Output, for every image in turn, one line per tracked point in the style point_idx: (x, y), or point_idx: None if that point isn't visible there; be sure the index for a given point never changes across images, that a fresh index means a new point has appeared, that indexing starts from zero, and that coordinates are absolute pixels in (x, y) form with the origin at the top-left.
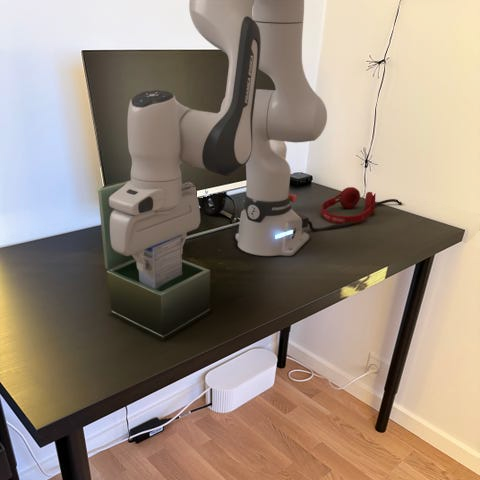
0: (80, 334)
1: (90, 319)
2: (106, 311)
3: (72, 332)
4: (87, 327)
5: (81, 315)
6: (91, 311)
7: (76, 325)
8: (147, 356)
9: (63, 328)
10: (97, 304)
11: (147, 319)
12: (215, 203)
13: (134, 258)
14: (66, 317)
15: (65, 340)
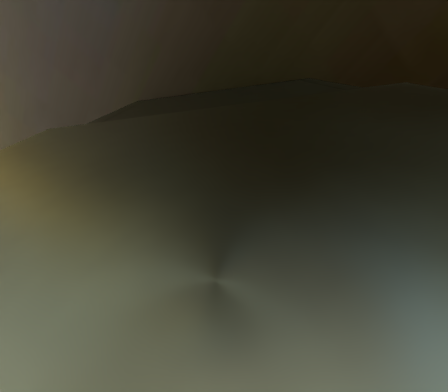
0: (41, 129)
1: (79, 84)
2: (131, 75)
3: (24, 109)
4: (63, 114)
5: (61, 44)
6: (93, 43)
7: (38, 86)
8: None
9: (3, 75)
10: (122, 13)
11: None
12: None
13: None
14: (16, 21)
15: (5, 129)
